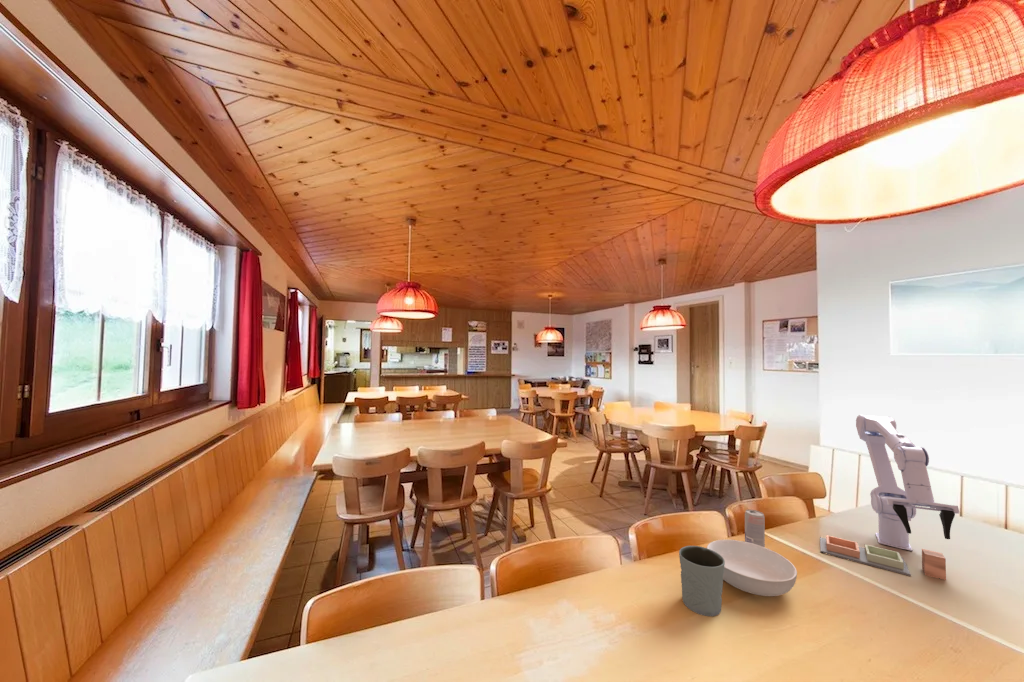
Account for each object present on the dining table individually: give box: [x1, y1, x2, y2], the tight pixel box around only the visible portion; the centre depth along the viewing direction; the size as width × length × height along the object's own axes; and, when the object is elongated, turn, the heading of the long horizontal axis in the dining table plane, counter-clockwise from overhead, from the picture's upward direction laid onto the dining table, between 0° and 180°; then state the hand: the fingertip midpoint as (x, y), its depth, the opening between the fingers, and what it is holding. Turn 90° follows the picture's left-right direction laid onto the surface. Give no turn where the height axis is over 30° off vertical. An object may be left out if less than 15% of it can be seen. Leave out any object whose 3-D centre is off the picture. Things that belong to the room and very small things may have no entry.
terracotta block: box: [921, 548, 947, 581], centre depth 110 cm, size 4×4×6 cm
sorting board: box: [819, 534, 912, 577], centre depth 119 cm, size 12×20×3 cm, turn 52°
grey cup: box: [678, 545, 725, 617], centre depth 93 cm, size 10×10×12 cm
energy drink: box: [744, 509, 766, 548], centre depth 121 cm, size 5×5×12 cm
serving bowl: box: [706, 539, 798, 597], centre depth 103 cm, size 21×21×7 cm
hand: (928, 536), depth 110 cm, fingers open, 7 cm apart
